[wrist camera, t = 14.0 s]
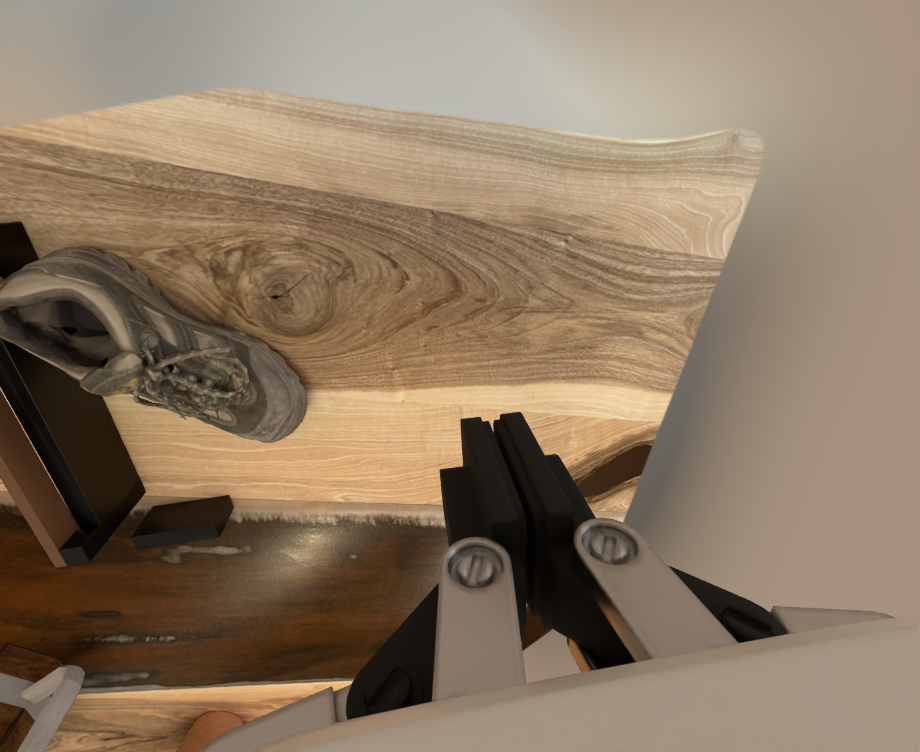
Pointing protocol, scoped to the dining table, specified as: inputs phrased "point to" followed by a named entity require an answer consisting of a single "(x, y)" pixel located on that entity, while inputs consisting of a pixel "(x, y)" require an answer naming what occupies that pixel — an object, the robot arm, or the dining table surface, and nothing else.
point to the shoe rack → (76, 455)
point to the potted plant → (208, 729)
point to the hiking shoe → (146, 345)
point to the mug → (33, 697)
